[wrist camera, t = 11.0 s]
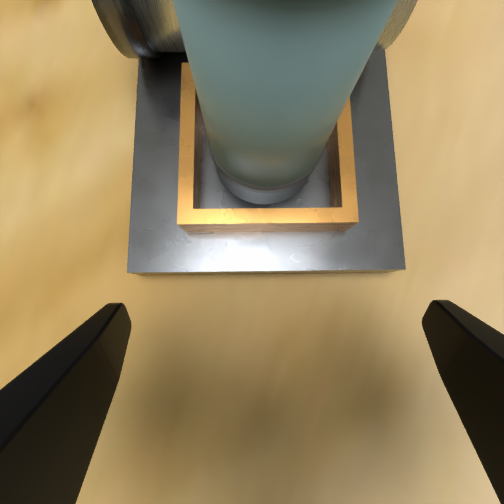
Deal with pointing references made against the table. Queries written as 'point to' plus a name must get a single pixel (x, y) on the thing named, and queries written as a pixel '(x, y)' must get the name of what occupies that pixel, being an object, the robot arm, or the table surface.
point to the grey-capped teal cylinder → (275, 82)
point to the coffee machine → (232, 207)
